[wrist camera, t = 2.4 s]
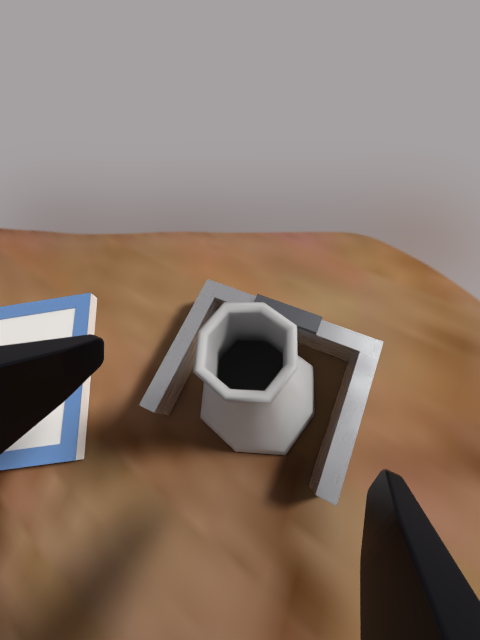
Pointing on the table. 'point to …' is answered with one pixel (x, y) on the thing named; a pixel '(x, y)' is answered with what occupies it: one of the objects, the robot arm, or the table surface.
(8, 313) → the white tile
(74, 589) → the table surface
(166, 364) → the grey u-shaped bracket
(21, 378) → the robot arm
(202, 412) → the flask
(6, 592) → the table surface
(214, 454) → the table surface
